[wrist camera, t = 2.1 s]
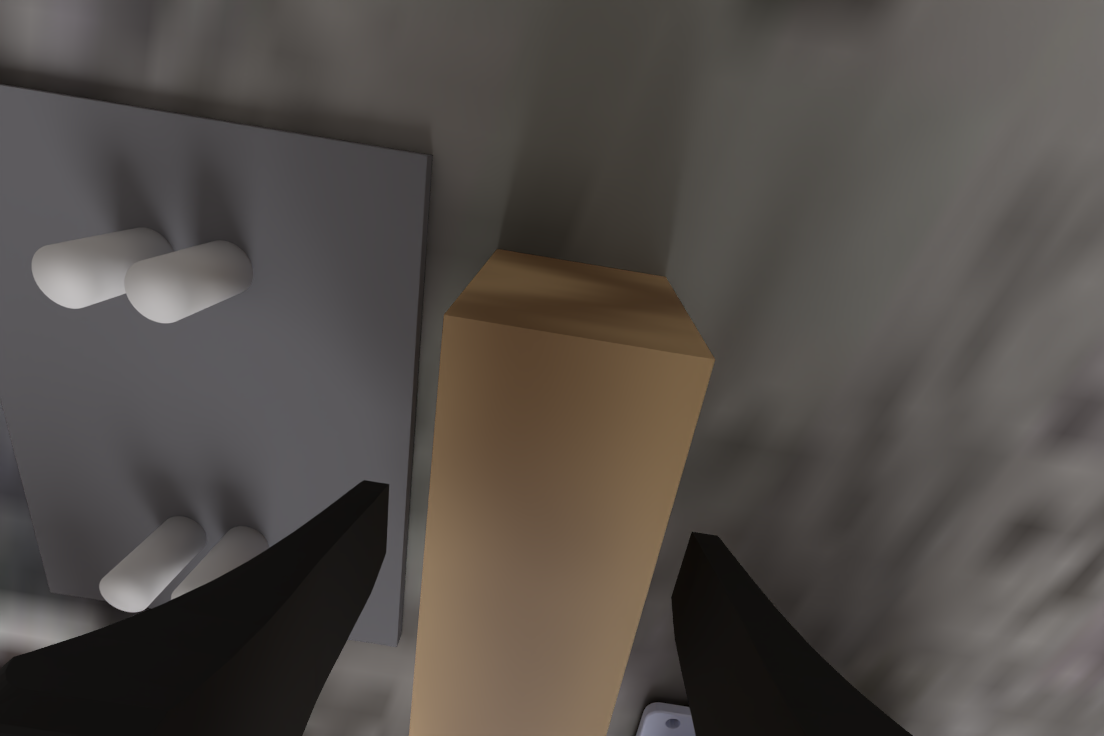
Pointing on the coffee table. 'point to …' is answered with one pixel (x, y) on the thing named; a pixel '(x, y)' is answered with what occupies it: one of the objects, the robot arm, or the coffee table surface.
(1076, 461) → the coffee table surface
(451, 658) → the oak block
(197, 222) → the peg base
